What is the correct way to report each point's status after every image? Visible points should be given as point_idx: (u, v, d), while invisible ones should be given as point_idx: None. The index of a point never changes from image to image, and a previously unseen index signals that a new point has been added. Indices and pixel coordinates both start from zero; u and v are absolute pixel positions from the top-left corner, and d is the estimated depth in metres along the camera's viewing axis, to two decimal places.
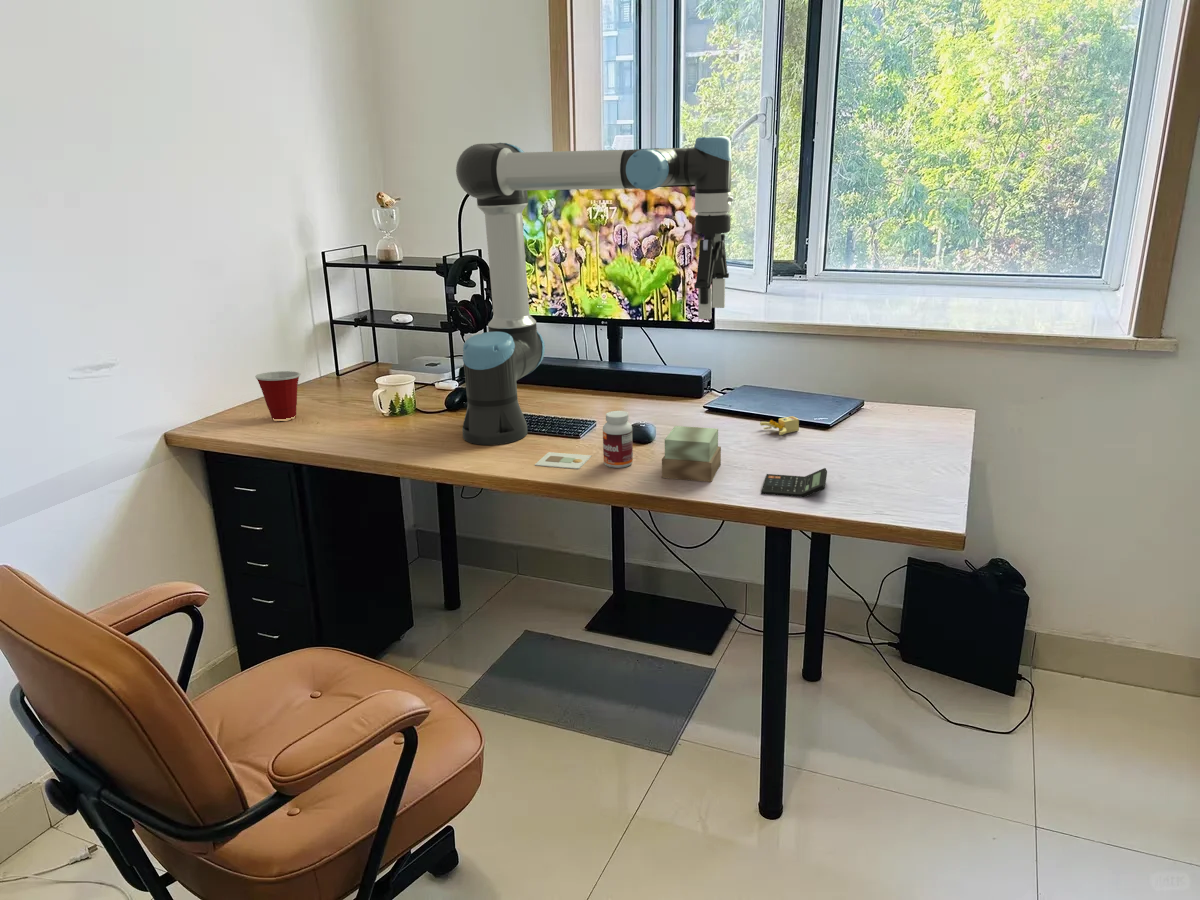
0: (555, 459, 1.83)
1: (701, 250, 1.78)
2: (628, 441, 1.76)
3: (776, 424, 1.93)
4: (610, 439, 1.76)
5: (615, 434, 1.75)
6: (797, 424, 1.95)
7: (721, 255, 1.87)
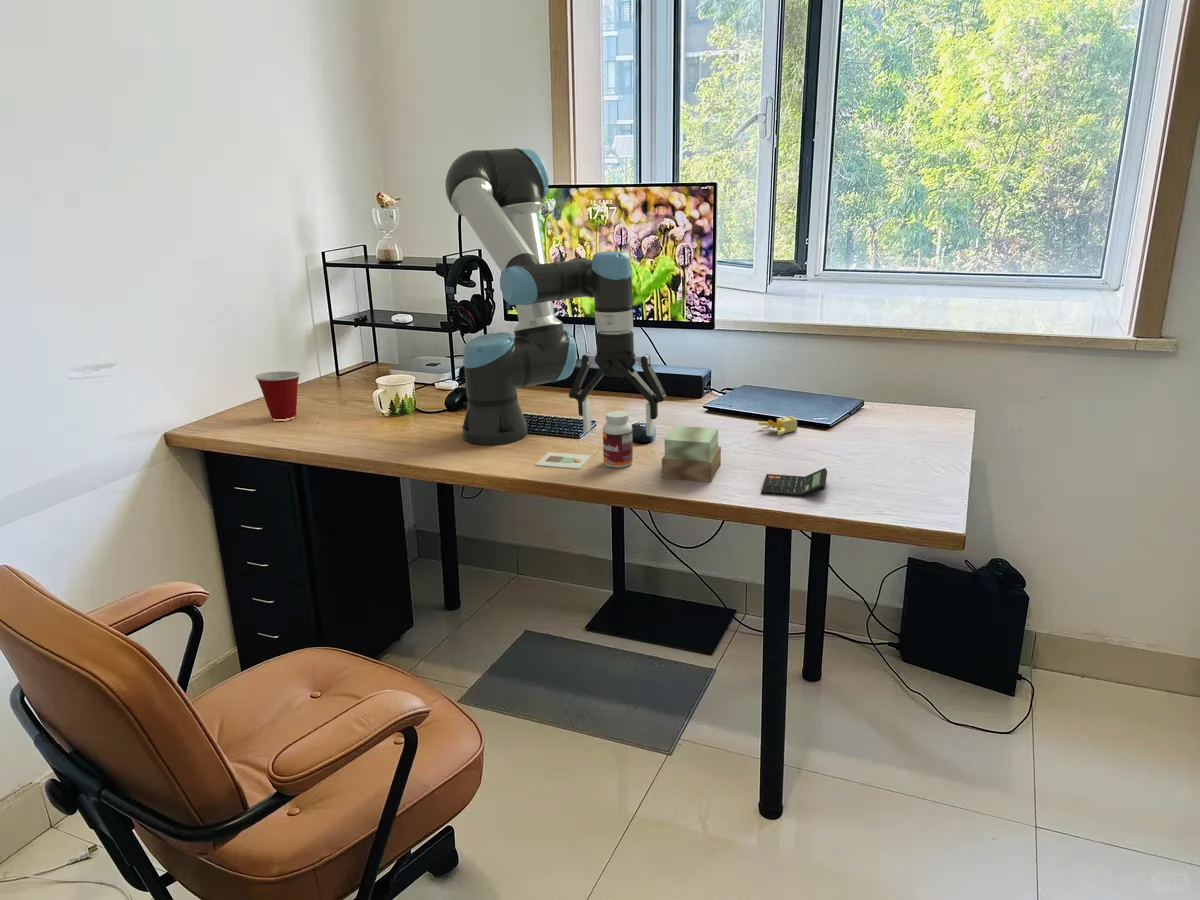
0: (555, 459, 1.83)
1: None
2: (628, 441, 1.76)
3: (774, 424, 1.94)
4: (610, 439, 1.76)
5: (615, 434, 1.75)
6: (795, 424, 1.95)
7: None
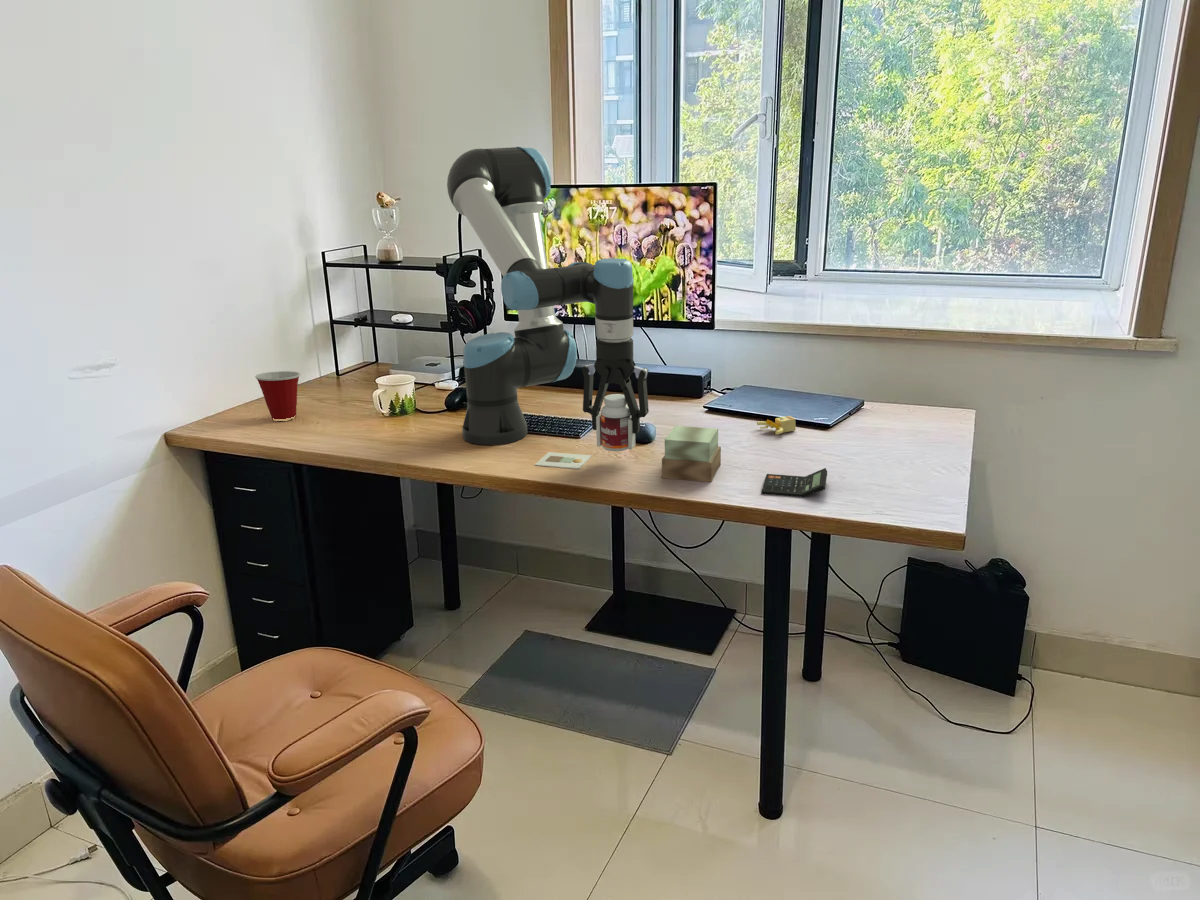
0: (555, 459, 1.83)
1: None
2: (627, 424, 1.76)
3: (773, 424, 1.94)
4: (608, 423, 1.75)
5: (613, 418, 1.74)
6: (794, 424, 1.95)
7: None
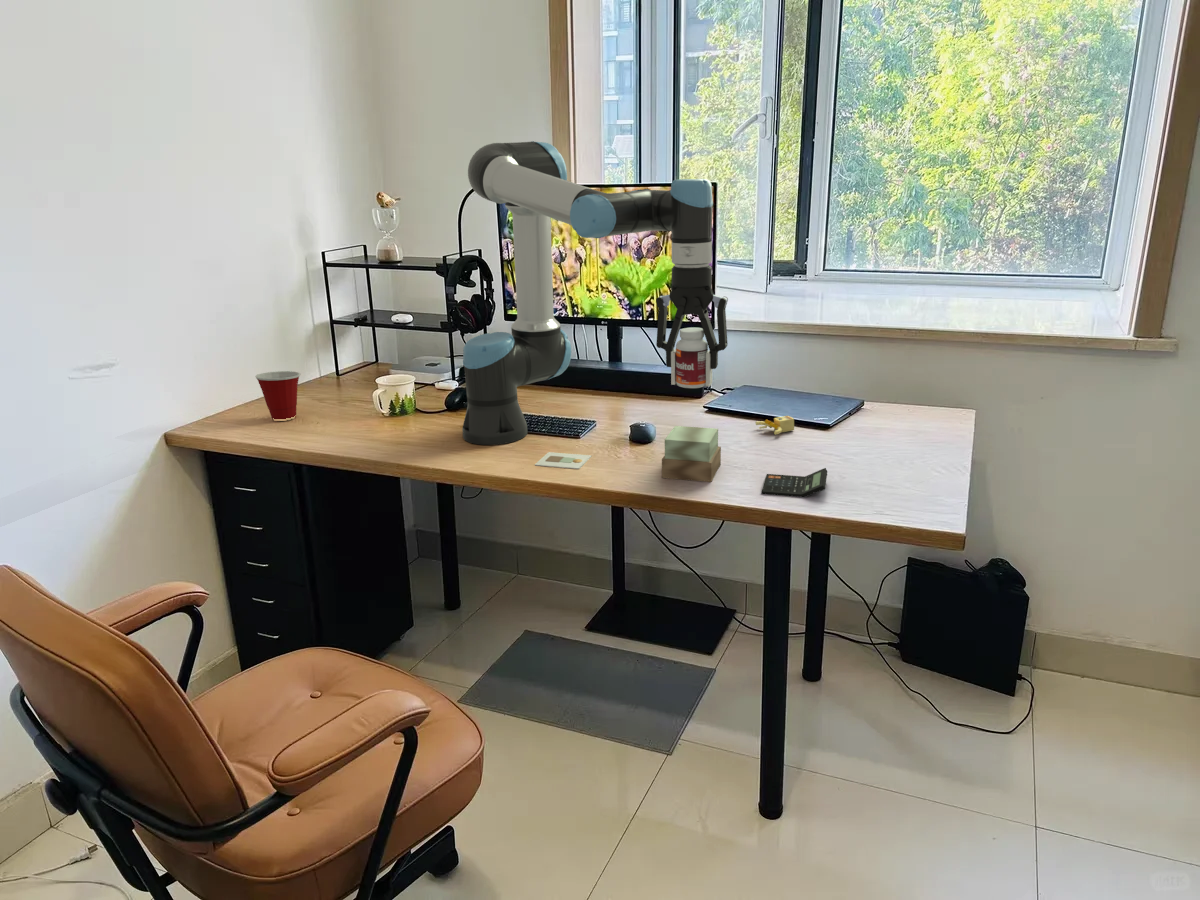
0: (555, 459, 1.83)
1: None
2: (704, 358, 1.65)
3: (771, 423, 1.94)
4: (684, 357, 1.64)
5: (690, 351, 1.63)
6: (792, 424, 1.96)
7: None
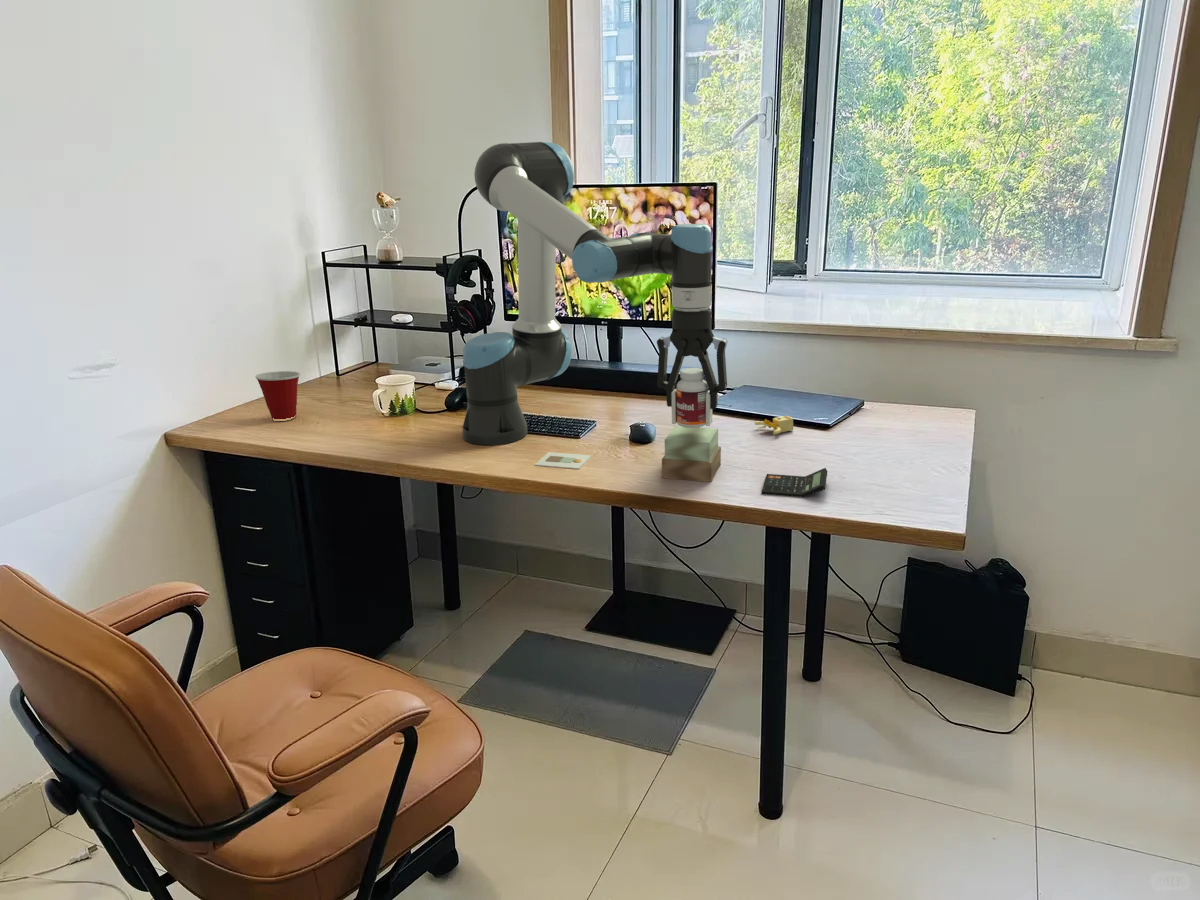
0: (555, 459, 1.83)
1: None
2: (704, 399, 1.67)
3: (770, 423, 1.94)
4: (685, 397, 1.67)
5: (691, 392, 1.66)
6: (791, 423, 1.96)
7: None
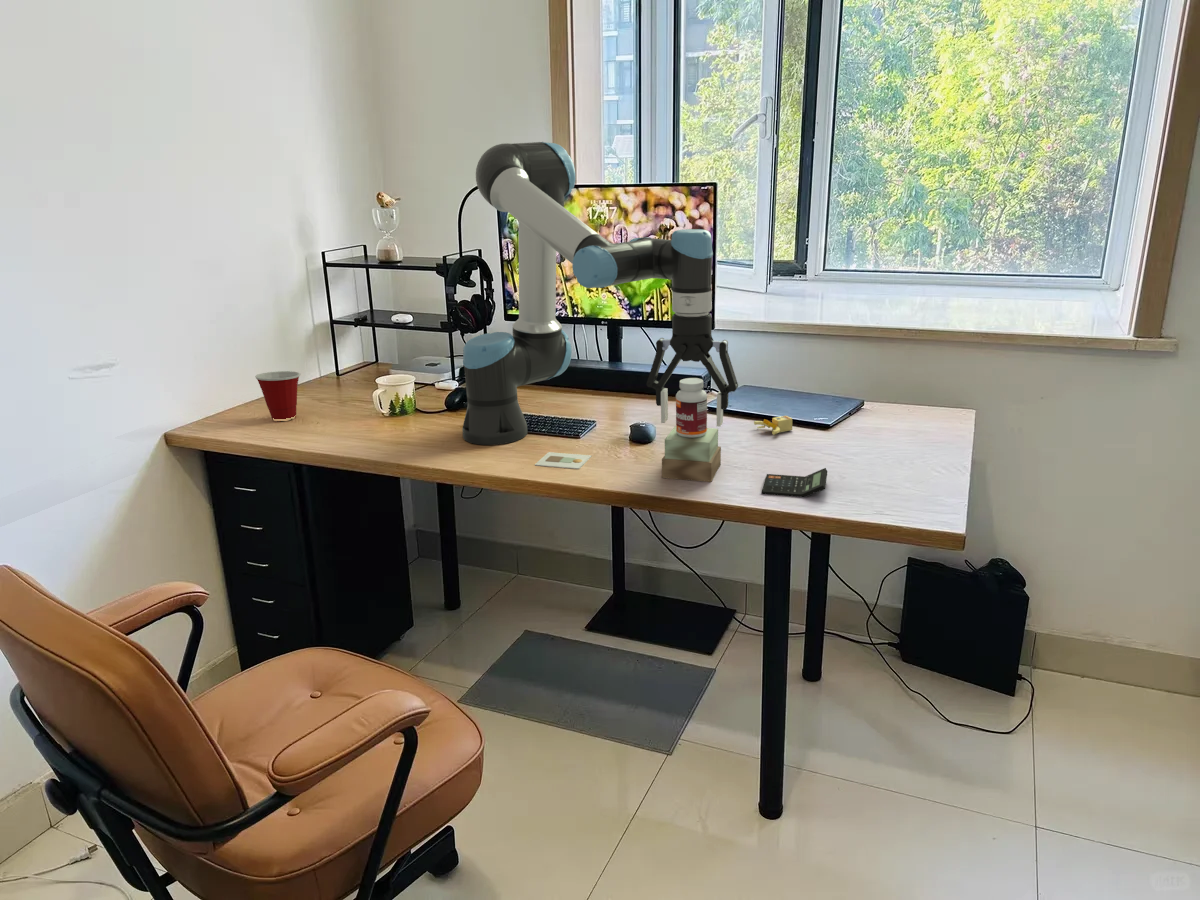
0: (555, 459, 1.83)
1: None
2: (704, 409, 1.68)
3: (769, 423, 1.94)
4: (684, 408, 1.67)
5: (690, 402, 1.66)
6: (790, 423, 1.96)
7: None
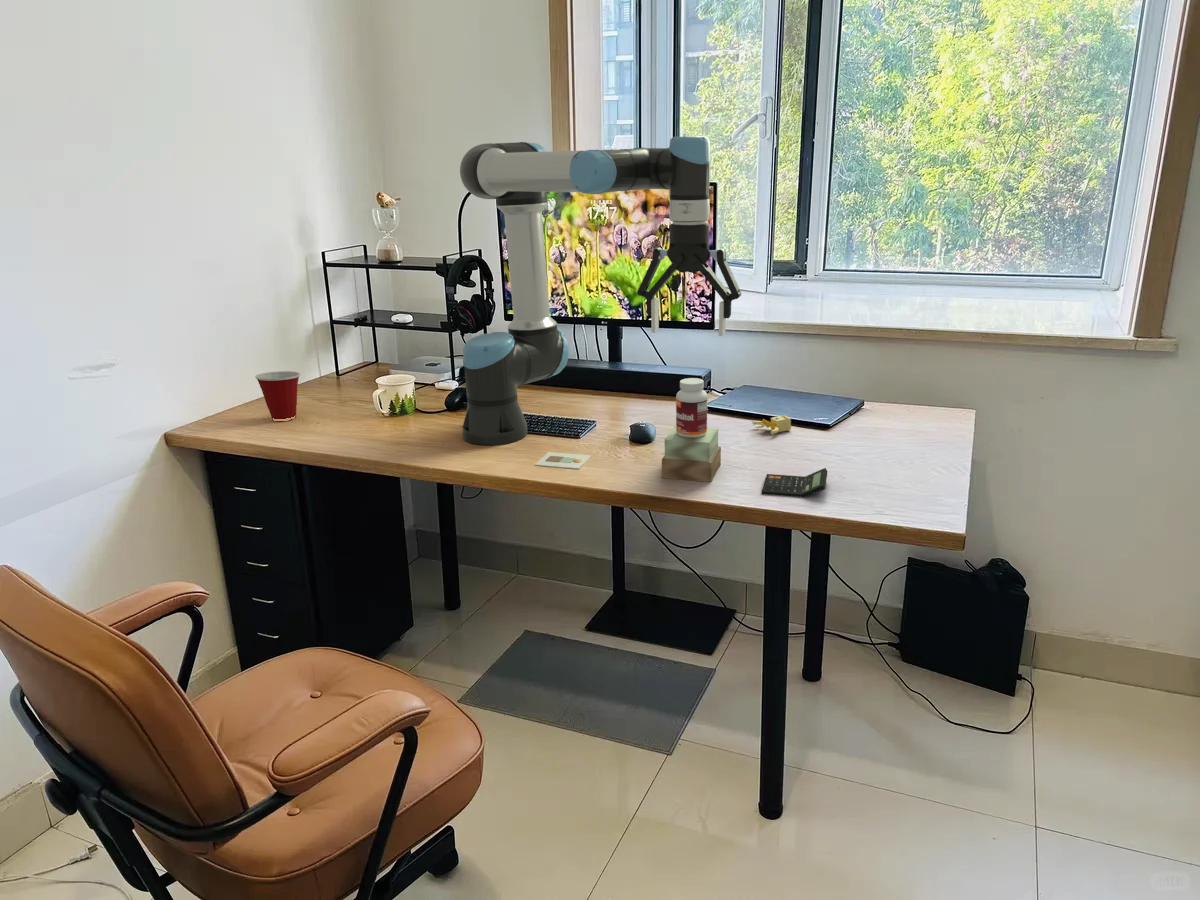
0: (555, 459, 1.83)
1: None
2: (704, 409, 1.68)
3: (768, 423, 1.94)
4: (684, 408, 1.67)
5: (690, 402, 1.66)
6: (789, 423, 1.96)
7: None
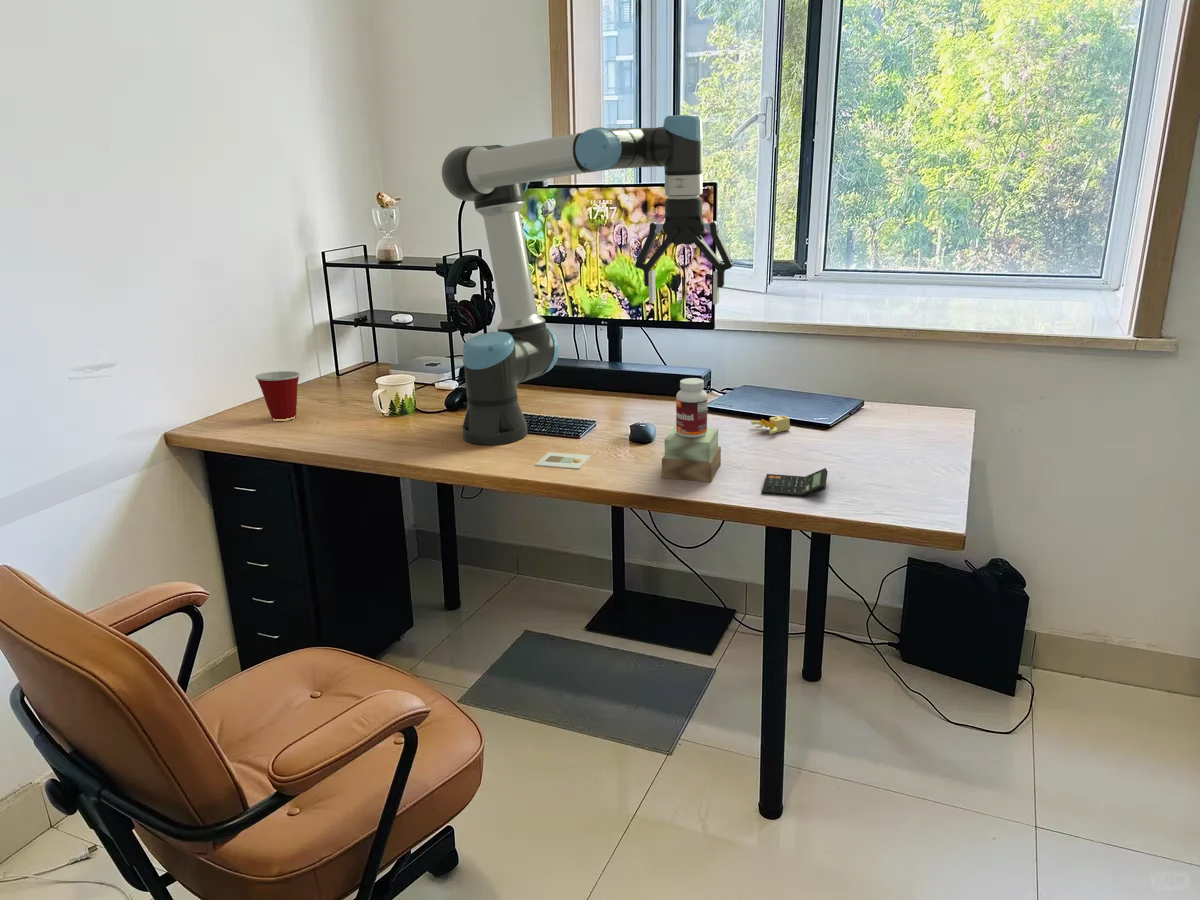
0: (555, 459, 1.83)
1: None
2: (704, 409, 1.68)
3: (767, 423, 1.94)
4: (684, 408, 1.67)
5: (690, 402, 1.66)
6: (788, 423, 1.96)
7: None
